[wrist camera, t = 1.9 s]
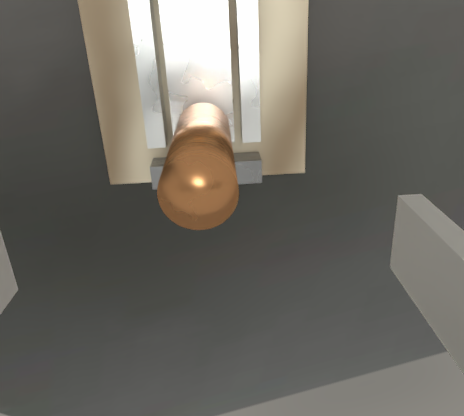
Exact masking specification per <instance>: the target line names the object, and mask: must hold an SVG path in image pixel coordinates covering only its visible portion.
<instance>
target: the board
mask: <svg viewBox="0 0 464 416" xmlns="http://www.w3.org/2000/svg"><path fill="white" fill-rule="evenodd" d="M78 6H79V11H80V17H81V22H82V28H83V34H84V39H85V45H86V50H87V56H88V61H89V67H90V73H91V78H92V84H93V89H94V95H95V100H96V106H97V112H98V117H99V123H100V128H101V134H102V140H103V145H104V151H105V156H106V162H107V167H108V173H109V179H110V184H111V185H113V184H129V183H145V182H152V180H151V173H150V165H151V163H152V160H153V158H159V157H167V154H168V151H169V148H170V145H171V141H172V138H173V130H172V121H171V112H170V103H169V94H168V85H167V75H166V66H165V57H164V48H163V39H162V30H161V20H160V11H159V2H158V0H153V7H154V16H155V24H156V33H157V42H158V51H159V59H160V68H161V77H162V86H163V94H164V103H165V112H166V121H167V130H168V138H169V141H168V144H167V147H166V148H150V149H148V147H147V140H146V132H145V125H144V118H143V110H142V103H141V96H140V88H139V81H138V73H137V66H136V59H135V51H134V44H133V37H132V29H131V22H130V15H129V7H128V0H78ZM228 13H229V34H230V54H231V75H232V95H233V116H234V136H235V142H232V147H233V153H241V152H258V151H259V154H260V157H261V160H262V175H275V174H291V173H305V140H306V93H307V46H308V0H258V36H259V80H260V124H261V142H250V143H243V142H242V138H241V125H240V101H239V77H238V54H237V30H236V7H235V0H228Z"/></svg>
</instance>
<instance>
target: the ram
mask: <svg viewBox="0 0 464 416" xmlns="http://www.w3.org/2000/svg"><path fill="white" fill-rule="evenodd" d="M158 2H159V11H160V20H161V30H162V39H163V48H164V57H165V66H166V75H167V85H168V94H169V103H170V112H171V121H172V130H173V138H172V141H171V145H170V148H169V151H168V154H167V157H166V160H165V163H164V166H163V170H162V173H161V176H160V179H159V182H158V187H157V197H158V201H159V204H160V207H161V209H162V210H163V212H164V213H165V215H166V216H167V217H168V218H169V219H170V220H171V221H173V222H174V223H176V224H177V225H179V226H181V227H184V228H187V229H192V230H205V229H210V228H213V227H216V226H218V225H220V224H222V223H223V222H224V221H226V220H227V219H228V218H229V217H230V216H231V214H232V213H233V211H234V210H235V208H236V206H237V202H238V198H239V188H238V181H237V174H236V168H235V161H234V154H233V147H232V142H235V136H234V116H233V95H232V75H231V54H230V34H229V13H228V0H158Z"/></svg>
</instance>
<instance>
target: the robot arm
mask: <svg viewBox="0 0 464 416" xmlns="http://www.w3.org/2000/svg"><path fill="white" fill-rule="evenodd" d="M390 268H391V270H392V271H393V273H394V274H395V276H396V277H397V278H398V280H399V281H400V283H401V284H402V286H403V287H404V289H405V290H406V292H407V293H408V294H409V296H410V297H411V299H412V300H413V302H414V303H415V305H416V306H417V308H418V309H419V310H420V312H421V313H422V315H423V316H424V318H425V319H426V321H427V322H428V324H429V325H430V326H431V328H432V329H433V331H434V332H435V334H436V335H437V337H438V338H439V340H440V341H441V342H442V344H443V345H444V347H445V348H446V350H447V351H448V353H449V354H450V356H451V357H452V358H453V360H454V361H455V363H456V364H457V366H458V367H459V368H460V370H461V372H462V373H463V374H464V231H463V230H462V229H461V228H460V227H459V226H457V225H456V224H455V223H454V222H453V221H452V220H451V219H449V218H448V217H447V216H446V215H445V214H444V213H443V212H441V211H440V210H439V209H438V208H437V207H436V206H435V205H433V204H432V203H431V202H430V201H429V200H428V199H427V198H425V197H424V196H423V195H422V194H413V195H398V201H397V210H396V218H395V227H394V235H393V244H392V253H391V261H390ZM17 291H18V287H17V283H16V280H15V277H14V274H13V270H12V267H11V264H10V260H9V257H8V254H7V250H6V247H5V244H4V241H3V237H2V234H1V231H0V314H1V313H2V312H3V310H4V309H5V307H6V306H7V305H8V303H9V302H10V301H11V299H12V298H13V296H14V295H15V294H16V292H17Z"/></svg>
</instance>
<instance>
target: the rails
mask: <svg viewBox="0 0 464 416" xmlns="http://www.w3.org/2000/svg"><path fill="white" fill-rule="evenodd" d="M128 7H129V15H130V22H131V29H132V37H133V44H134V51H135V59H136V66H137V73H138V81H139V88H140V96H141V103H142V110H143V118H144V125H145V132H146V140H147V147H148V149H150V148H166V147H167V144H168V141H169V138H168V130H167V121H166V112H165V103H164V94H163V86H162V77H161V68H160V59H159V51H158V42H157V33H156V24H155V16H154V7H153V0H128ZM235 7H236V30H237V54H238V77H239V101H240V125H241V138H242V142H243V143H250V142H261V124H260V80H259V36H258V0H235ZM233 154H234V161H235V168H236V174H237V181H238V184H252V183H262V160H261V157H260V154H259V151H258V152H241V153H233ZM165 160H166V157H159V158H153V160H152V163H151V165H150V173H151V180H152V188H153V190H155V189H157V187H158V182H159V179H160V176H161V173H162V170H163V166H164V163H165Z"/></svg>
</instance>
